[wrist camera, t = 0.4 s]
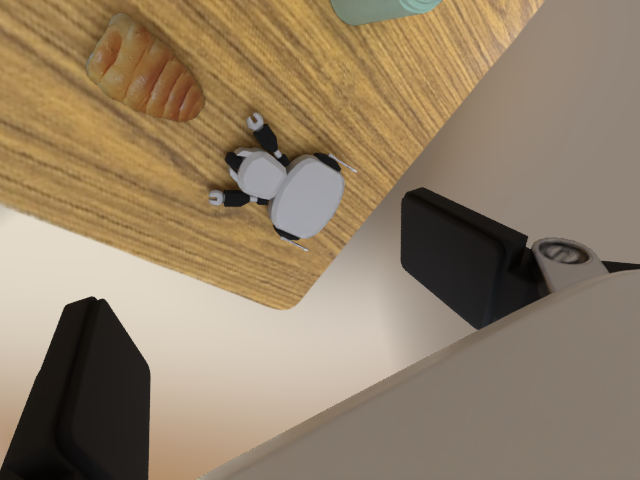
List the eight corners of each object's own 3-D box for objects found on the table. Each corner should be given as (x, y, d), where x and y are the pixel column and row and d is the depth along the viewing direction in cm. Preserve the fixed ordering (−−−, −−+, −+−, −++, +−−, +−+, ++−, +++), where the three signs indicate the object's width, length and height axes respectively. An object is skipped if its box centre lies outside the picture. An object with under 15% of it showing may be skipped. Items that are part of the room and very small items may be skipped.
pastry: (215, 80, 32) (221, 83, 29) (183, 137, 34) (185, 145, 31) (115, 6, 27) (109, 0, 24) (80, 77, 28) (71, 80, 25)
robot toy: (200, 196, 38) (302, 241, 46) (201, 209, 34) (312, 255, 42) (248, 102, 35) (347, 165, 43) (255, 104, 32) (363, 174, 39)
